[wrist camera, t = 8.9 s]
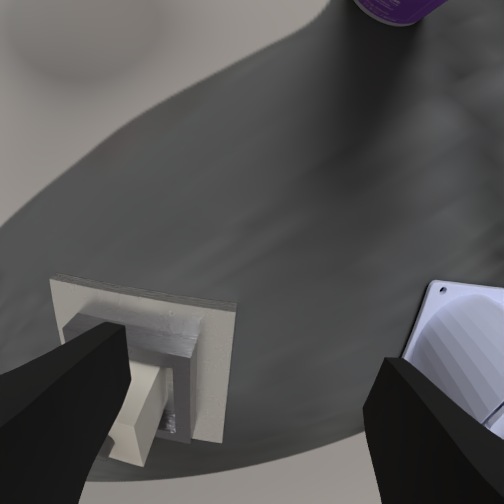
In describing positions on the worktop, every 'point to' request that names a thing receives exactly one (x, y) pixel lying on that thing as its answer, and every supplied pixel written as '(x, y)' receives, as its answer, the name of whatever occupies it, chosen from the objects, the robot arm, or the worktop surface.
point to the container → (398, 10)
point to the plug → (137, 415)
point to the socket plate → (162, 345)
